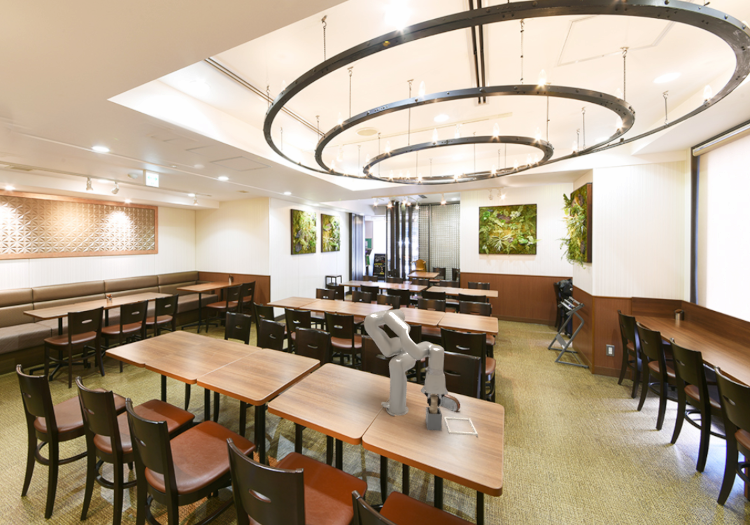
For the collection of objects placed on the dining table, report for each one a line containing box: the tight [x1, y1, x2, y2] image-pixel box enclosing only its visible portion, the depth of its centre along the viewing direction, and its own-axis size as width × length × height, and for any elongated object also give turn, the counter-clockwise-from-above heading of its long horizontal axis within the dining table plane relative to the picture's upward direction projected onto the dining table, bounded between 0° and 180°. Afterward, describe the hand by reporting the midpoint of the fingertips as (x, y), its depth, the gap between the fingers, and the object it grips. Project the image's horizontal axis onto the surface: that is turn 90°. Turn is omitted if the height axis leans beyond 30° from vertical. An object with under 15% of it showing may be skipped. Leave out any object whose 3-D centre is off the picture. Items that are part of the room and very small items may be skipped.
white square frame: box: [443, 416, 479, 438], centre depth 148 cm, size 14×13×2 cm
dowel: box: [429, 394, 439, 414], centre depth 147 cm, size 4×4×14 cm
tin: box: [436, 393, 461, 413], centre depth 166 cm, size 15×3×8 cm, turn 49°
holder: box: [425, 406, 443, 432], centre depth 148 cm, size 7×7×9 cm
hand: (433, 404), depth 147 cm, fingers closed on dowel, 4 cm apart
